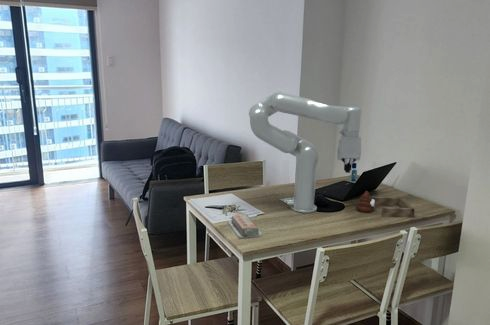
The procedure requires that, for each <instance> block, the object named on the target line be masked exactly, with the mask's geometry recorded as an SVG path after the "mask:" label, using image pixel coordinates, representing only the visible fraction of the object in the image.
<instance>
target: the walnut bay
mask: <svg viewBox="0 0 490 325" xmlns="http://www.w3.org/2000/svg"><path fill="white" fill-rule="evenodd" d="M371 199H374V200H375V205H374V206H381V214H380V216H381V217H387V218H388V217H389V218H412V219H413V218H414V215H415V208H414V207H412V205H411V204H409V203H408V202H407V201H406V200H405V199H404V198H402V197H398V196H397V197H396V196H395V197H393V196H391V197H390V196H372V197H371Z"/></svg>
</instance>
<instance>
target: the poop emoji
mask: <svg viewBox="0 0 490 325" xmlns="http://www.w3.org/2000/svg"><path fill="white" fill-rule="evenodd" d="M375 206H376V205H375V200H374V199H372V197H371V196H370V193H369V191H368V190H365V192H363V194H362V195H361V196H360V197H359V199H358V200H357V202H356V204H355V209H356V210H357V211H358V212H360V213H365V214H369V213H372V212H373V211H374V208H375Z"/></svg>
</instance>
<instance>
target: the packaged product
mask: <svg viewBox="0 0 490 325" xmlns="http://www.w3.org/2000/svg"><path fill="white" fill-rule="evenodd" d="M227 223H228V225H229V226H230V227H231V229H232V231H233V233H234V234H235V235H236V237H237V238H238V239H239V240H242V239H253V238H262V237H263V232H261V230H260V229H259V228H258V226H257V225H256V223H255V222H254V221H253V220H252V219H251V217H249V216H248V214H247V213H245V212H244V213H243V212H240V213H238V214H233V216H231V218H230V220H227Z"/></svg>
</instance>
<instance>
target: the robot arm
mask: <svg viewBox="0 0 490 325" xmlns="http://www.w3.org/2000/svg"><path fill="white" fill-rule="evenodd" d="M278 112H279V113H283V114H288V115H293V116H298V117H302V118H306V119H308V120H310V119H311V120H317V121H319V122H324V123H329V124H334V125H342V129H341V130H339V131H338V134H340V137H339V141H338V146H337V156H336V159H337V160H338V161H342V163H344V164H343V165H344V166H343V169H344V170H343V171H344V172H345V173H346V174H347V173H348V174H350V172H351V171H352V165H353V164H354V162H357V161H361V157H362V139H361V138H362V137H361V136H360V128H361V126H360V125H361V117H362V116H361V115H362V109H361V107H357V106H339V105H330V104H329V105H328V104H325V103H321V102H318V101H316V100H314V99H310V98H307V97H301V96H298V95H297V96H296V95H293V94H289V93H284V92H282V91H277V92H273V93H272V94H271V95H269V96H267V97H266V98H264V99H262V100H260V101H259V102H257V103H255V104H253V105H251V107H250V109H249V111H248V116H249V125H250V128H251V129H250V130H251V131H252V133H253V135H254V136H255V137H256V138H258V139H259V140H261V141H263V142H264V143H266V144H267V145H269V146H271V147H273V148H275V149H277V150H278V151H280V152H281V153H284V154H290V155H292V156H294V157H295V158H296V166H295V167H296V168H295V175H294V176H295V178H294V194H293V197H292V198H291V199H287V198H285V199H284V200H283V202H284V204H287V205H290V209H291V210H292V211H295V212H297V213H298V212H299V213H303V214H304V213H305V214H307V213H314V212H316V211H317V209H318V207H317V205H315V194H316V180H317V178H316V177H317V167H318V162H319V152H318V150H317V148H316V146H315V145H314V144H313V143H311V142H310V141H308V140H307V139H305V138H303V137H301V136H299V135H297V134H296V133H294V132H293V131H290V130H282V129H280V128H279V127H278V126H275V125H273V124H271V123H270V122H269V117H271V116H272V115H274V114H276V113H278Z"/></svg>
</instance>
